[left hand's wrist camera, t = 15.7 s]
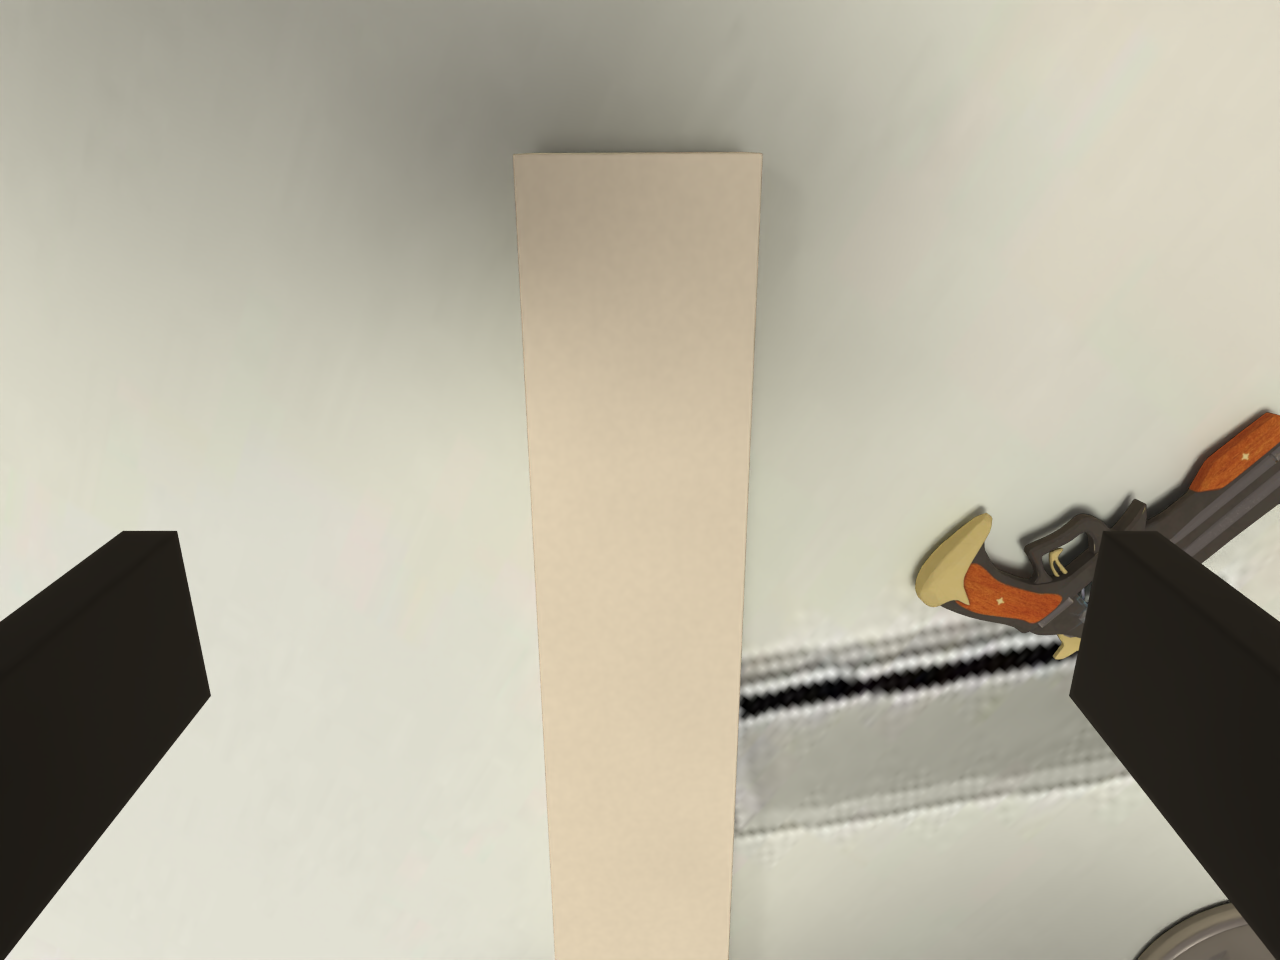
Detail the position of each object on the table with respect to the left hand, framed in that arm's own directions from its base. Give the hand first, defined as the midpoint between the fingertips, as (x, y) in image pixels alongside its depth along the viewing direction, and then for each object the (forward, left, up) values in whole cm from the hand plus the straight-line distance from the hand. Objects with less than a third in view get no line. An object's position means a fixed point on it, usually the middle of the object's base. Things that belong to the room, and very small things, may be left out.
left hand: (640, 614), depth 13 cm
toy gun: (+16, +21, -30) cm, 39 cm away
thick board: (+22, -4, -30) cm, 37 cm away
